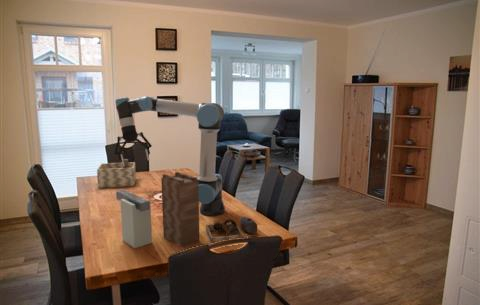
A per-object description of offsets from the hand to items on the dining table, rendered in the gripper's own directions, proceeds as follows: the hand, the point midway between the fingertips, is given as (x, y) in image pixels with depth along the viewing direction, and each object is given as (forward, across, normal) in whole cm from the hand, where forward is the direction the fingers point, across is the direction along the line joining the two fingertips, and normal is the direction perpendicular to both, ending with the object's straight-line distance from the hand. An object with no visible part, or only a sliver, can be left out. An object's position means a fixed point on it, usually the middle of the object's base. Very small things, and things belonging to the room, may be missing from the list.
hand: (136, 163), depth 196 cm
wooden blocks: (+16, +11, -89) cm, 91 cm away
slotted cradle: (+36, +9, +29) cm, 47 cm away
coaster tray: (+44, -32, +36) cm, 65 cm away
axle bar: (+18, +7, +29) cm, 34 cm away
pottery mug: (+44, -33, +33) cm, 64 cm away
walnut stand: (+40, -11, +33) cm, 53 cm away
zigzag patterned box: (+15, +13, -90) cm, 92 cm away
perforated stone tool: (+46, -45, +33) cm, 72 cm away
